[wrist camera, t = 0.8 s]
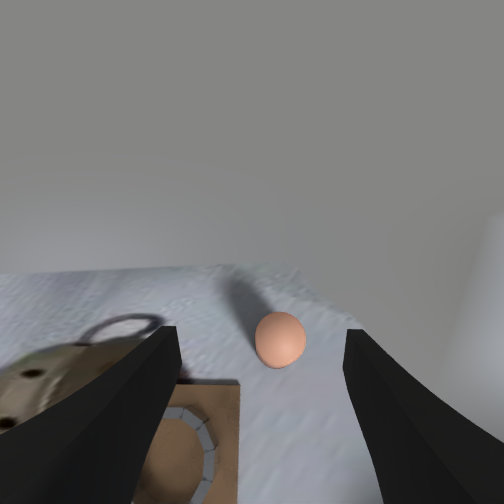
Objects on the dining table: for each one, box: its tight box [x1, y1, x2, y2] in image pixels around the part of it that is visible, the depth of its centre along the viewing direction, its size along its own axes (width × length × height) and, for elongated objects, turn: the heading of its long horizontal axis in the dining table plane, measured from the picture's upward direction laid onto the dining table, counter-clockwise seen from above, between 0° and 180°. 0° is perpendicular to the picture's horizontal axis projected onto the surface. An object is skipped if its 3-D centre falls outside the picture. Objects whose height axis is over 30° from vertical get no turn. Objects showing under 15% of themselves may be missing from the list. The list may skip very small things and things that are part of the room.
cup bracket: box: [131, 384, 240, 504], centre depth 22 cm, size 11×11×3 cm
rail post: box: [255, 312, 306, 369], centre depth 24 cm, size 4×4×7 cm
